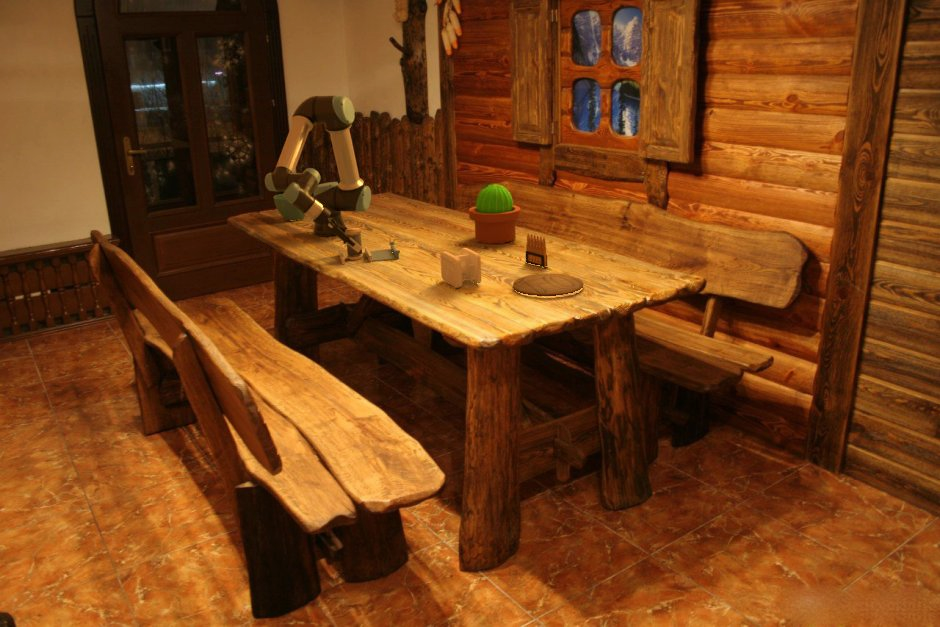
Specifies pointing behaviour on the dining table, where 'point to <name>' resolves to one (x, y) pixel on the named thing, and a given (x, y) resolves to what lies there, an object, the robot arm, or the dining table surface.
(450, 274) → the cable organizer
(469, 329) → the dining table surface
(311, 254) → the dining table surface
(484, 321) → the dining table surface
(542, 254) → the ammunition clip
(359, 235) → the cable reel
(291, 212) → the green rounded bowl
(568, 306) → the dining table surface
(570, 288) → the trivet
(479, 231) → the potted cactus
